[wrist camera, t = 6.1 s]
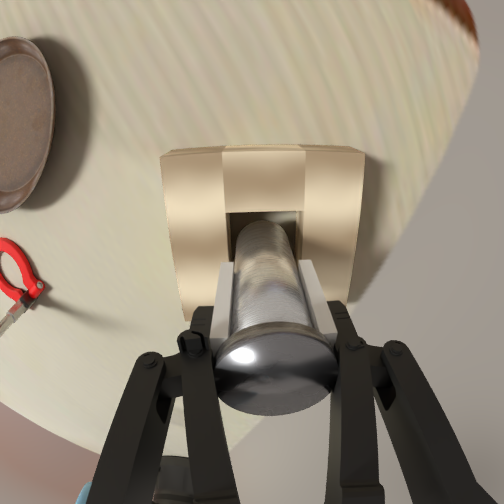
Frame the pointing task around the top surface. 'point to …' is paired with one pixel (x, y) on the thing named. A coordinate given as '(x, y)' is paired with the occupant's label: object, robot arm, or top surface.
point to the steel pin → (271, 332)
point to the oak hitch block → (261, 209)
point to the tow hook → (20, 298)
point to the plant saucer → (23, 119)
